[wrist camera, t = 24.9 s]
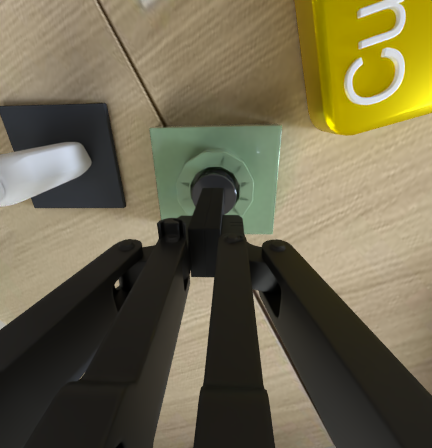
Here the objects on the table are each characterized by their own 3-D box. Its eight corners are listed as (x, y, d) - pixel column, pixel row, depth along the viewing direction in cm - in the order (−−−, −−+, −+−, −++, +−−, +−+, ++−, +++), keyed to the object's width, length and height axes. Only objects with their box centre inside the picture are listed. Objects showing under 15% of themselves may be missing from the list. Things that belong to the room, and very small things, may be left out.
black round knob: (195, 209, 22) (192, 217, 20) (193, 169, 20) (189, 174, 19) (235, 209, 21) (236, 217, 20) (236, 168, 20) (237, 173, 18)
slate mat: (38, 206, 27) (34, 208, 26) (2, 106, 23) (-3, 106, 22) (126, 206, 26) (124, 208, 26) (106, 103, 22) (103, 103, 22)
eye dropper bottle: (33, 134, 23) (-143, 155, 12) (92, 143, 23) (-30, 173, 12) (41, 178, 25) (-106, 231, 14) (95, 187, 25) (-9, 247, 14)
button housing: (168, 222, 27) (158, 242, 23) (157, 126, 23) (142, 129, 19) (268, 222, 26) (275, 243, 22) (276, 123, 22) (287, 126, 18)
